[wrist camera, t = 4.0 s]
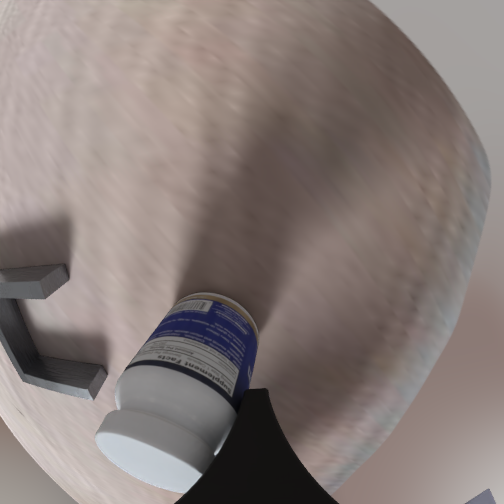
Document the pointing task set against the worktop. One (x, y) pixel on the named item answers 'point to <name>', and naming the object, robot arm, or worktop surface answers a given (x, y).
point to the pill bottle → (181, 392)
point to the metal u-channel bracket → (21, 345)
